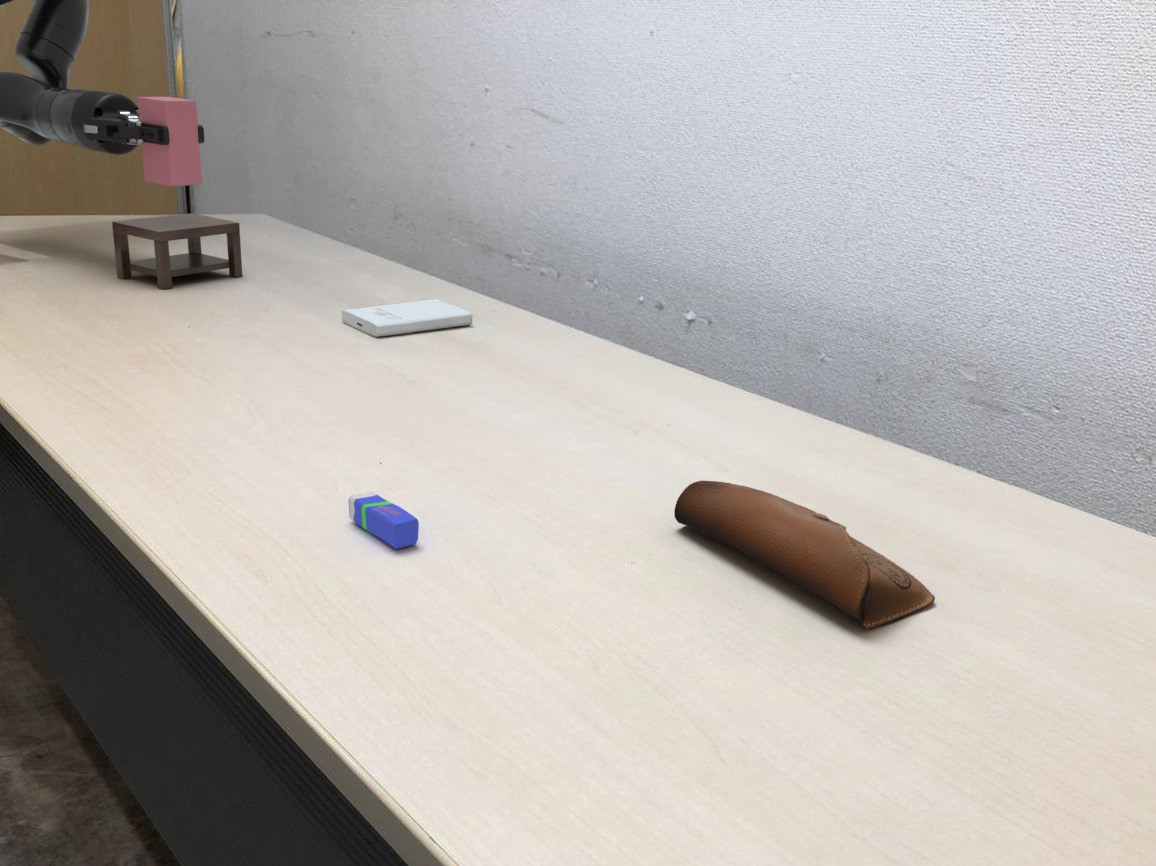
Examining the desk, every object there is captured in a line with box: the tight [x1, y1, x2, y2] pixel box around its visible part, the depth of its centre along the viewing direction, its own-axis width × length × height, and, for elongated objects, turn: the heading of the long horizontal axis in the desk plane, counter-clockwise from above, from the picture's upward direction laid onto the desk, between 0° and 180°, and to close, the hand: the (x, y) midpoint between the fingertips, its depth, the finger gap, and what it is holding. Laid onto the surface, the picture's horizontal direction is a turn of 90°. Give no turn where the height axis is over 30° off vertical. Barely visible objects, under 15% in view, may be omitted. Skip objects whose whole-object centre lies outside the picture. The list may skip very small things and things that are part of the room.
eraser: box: [347, 490, 420, 550], centre depth 76 cm, size 2×6×2 cm, turn 42°
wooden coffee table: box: [111, 212, 243, 290], centre depth 143 cm, size 12×9×7 cm
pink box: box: [136, 96, 203, 188], centre depth 138 cm, size 4×5×10 cm
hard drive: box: [341, 298, 473, 338], centre depth 130 cm, size 2×8×12 cm
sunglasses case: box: [673, 480, 936, 630], centre depth 76 cm, size 18×7×7 cm
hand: (184, 135), depth 137 cm, fingers closed on pink box, 4 cm apart
